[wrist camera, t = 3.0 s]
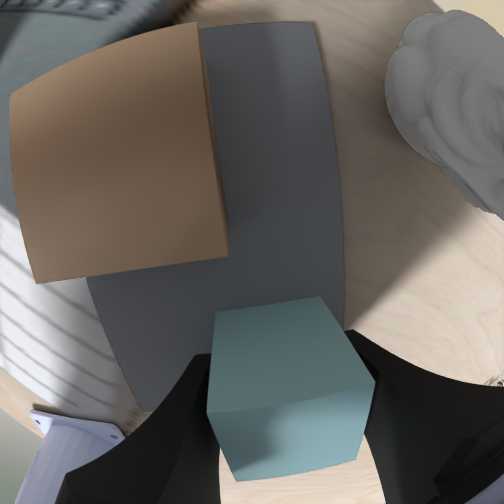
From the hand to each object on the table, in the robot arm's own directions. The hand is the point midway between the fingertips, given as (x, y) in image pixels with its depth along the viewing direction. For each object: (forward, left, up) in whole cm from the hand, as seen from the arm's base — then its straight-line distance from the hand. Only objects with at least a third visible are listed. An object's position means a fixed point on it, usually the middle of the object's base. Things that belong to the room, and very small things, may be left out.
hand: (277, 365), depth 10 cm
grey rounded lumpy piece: (+9, -7, -2) cm, 11 cm away
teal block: (0, 0, -1) cm, 1 cm away
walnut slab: (+8, +4, -1) cm, 9 cm away
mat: (+4, +2, -2) cm, 5 cm away
